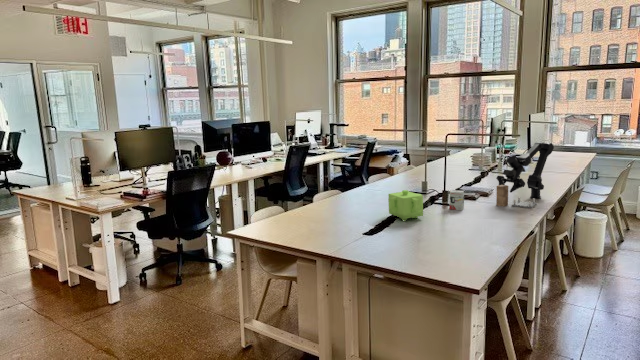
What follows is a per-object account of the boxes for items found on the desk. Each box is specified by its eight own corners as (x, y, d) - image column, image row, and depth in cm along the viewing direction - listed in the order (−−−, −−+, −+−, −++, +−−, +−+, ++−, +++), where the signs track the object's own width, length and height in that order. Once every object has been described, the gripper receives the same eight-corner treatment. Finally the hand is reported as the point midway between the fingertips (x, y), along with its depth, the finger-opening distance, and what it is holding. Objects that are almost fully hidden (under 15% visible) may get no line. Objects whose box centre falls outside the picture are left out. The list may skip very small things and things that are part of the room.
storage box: (379, 216, 279) (378, 189, 276) (409, 211, 288) (409, 185, 285) (401, 225, 257) (401, 196, 254) (433, 219, 265) (433, 191, 262)
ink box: (449, 209, 287) (449, 191, 285) (450, 207, 291) (450, 190, 289) (462, 210, 283) (462, 192, 281) (464, 208, 287) (464, 190, 285)
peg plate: (517, 202, 295) (517, 196, 295) (536, 204, 288) (536, 198, 287) (511, 206, 286) (511, 200, 286) (531, 208, 279) (531, 202, 278)
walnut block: (501, 203, 294) (501, 184, 291) (507, 205, 289) (508, 185, 287) (496, 205, 291) (496, 185, 289) (502, 206, 287) (503, 186, 285)
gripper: (498, 163, 297) (486, 181, 294) (523, 166, 281) (510, 185, 278) (506, 173, 302) (494, 191, 299) (530, 177, 286) (518, 196, 283)
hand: (504, 191), depth 289 cm, fingers open, 9 cm apart
